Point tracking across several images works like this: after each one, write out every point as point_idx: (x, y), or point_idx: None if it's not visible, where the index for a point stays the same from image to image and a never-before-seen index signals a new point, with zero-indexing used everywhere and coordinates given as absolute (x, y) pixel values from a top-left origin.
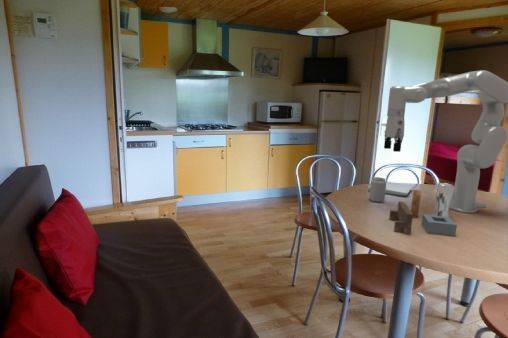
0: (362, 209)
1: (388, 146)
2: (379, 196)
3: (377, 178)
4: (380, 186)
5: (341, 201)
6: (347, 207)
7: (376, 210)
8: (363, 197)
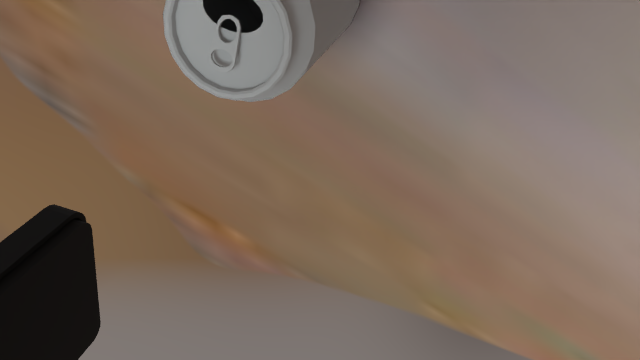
0: (484, 220)
1: (64, 303)
2: (348, 16)
3: (221, 48)
4: (322, 42)
5: (301, 238)
6: (424, 277)
7: (531, 146)
8: None
